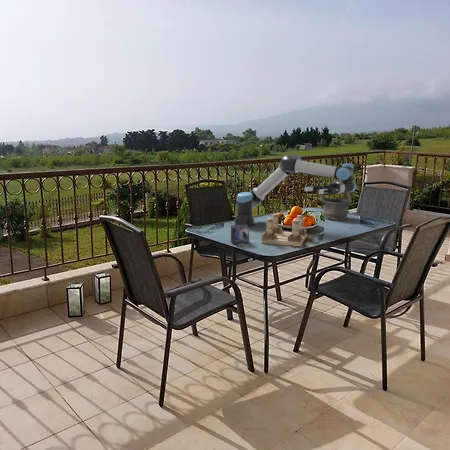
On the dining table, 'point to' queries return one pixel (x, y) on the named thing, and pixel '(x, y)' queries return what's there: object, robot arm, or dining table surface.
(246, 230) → the small box
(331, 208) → the wicker basket
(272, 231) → the upturned wooden stool
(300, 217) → the loose leg
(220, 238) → the dining table surface
